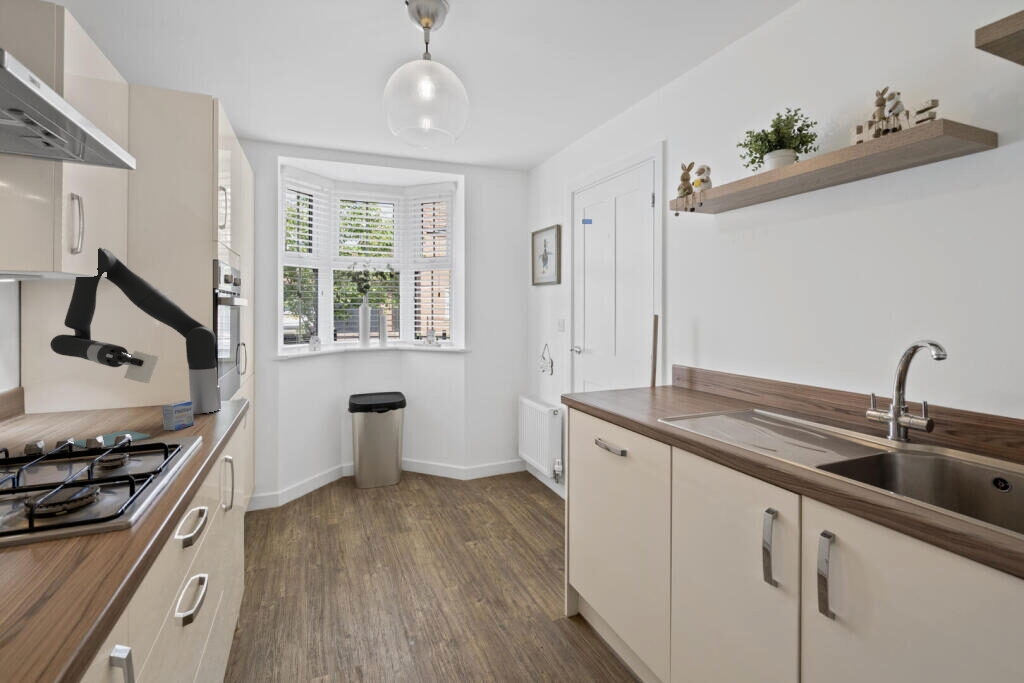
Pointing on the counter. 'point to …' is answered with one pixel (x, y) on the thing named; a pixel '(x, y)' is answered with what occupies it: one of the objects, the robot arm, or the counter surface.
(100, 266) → the robot arm
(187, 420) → the medicine box
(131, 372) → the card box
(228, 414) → the counter surface
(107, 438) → the mat
